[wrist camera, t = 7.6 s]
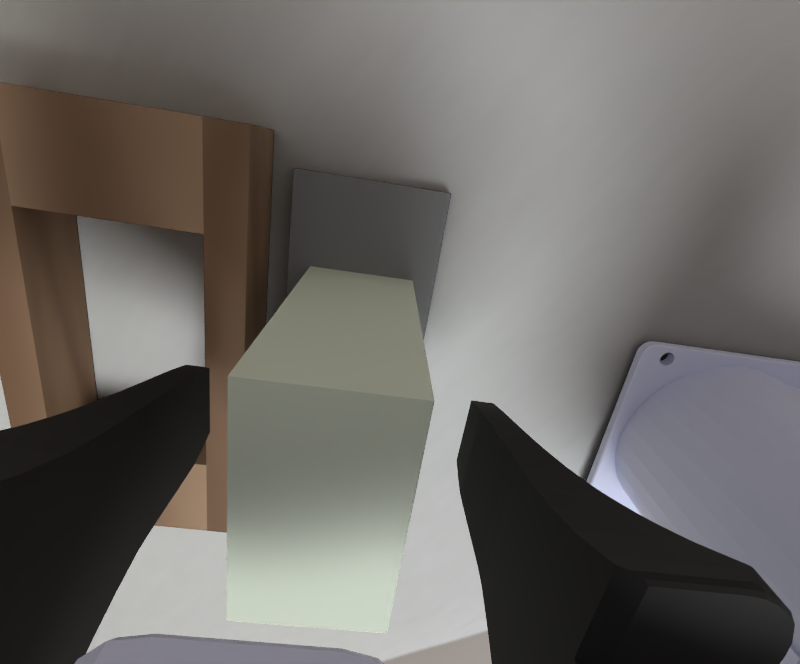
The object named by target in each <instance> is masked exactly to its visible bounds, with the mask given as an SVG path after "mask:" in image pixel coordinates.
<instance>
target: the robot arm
mask: <svg viewBox="0 0 800 664" xmlns="http://www.w3.org/2000/svg"><path fill="white" fill-rule="evenodd" d="M665 353H668V356H667V357H666V359H664V360H662V361H660V358H661V357H662V355H664V354H665ZM209 433H210V368H207V367H199V366H191V365H185V366H181V367H178V368H176V369H173V370H170V371H168V372H165V373H163V374H161V375H158V376H156V377H154V378H151V379H149V380H146V381H144V382H142V383H139V384H137V385H135V386H132V387H130V388H127V389H125V390H123V391H120V392H118V393H115V394H113V395H110V396H107V397H105V398H102V399H100V400H97V401H94V402H92V403H89V404H86V405H84V406H81V407H79V408H76V409H73V410H70V411H67V412H64V413H61V414H58V415H55V416H52V417H48V418H45V419H42V420H38V421H35V422H31V423H28V424H25V425H21V426H17V427H13V428H9V429H5V430H1V431H0V664H384V663H383V662H382V661H380V660H379V659H378V658H375V657H371V656H368V655H364V654H360V653H356V652H353V651H349V650H345V649H339V648H326V647H314V646H301V645H289V644H276V643H264V642H251V641H239V640H226V639H214V638H201V637H189V636H176V635H164V634H149V635H139V636H128V637H118V638H115V639H112V640H109V641H106V642H105V643H103V644H101V645H100V646H98V647H97V648H95V649H93V650H92V651H90V652H88V653H87V654H86V652H87V650H88V648H89V645H90V643H91V641H92V639H93V637H94V635H95V633H96V631H97V629H98V627H99V625H100V623H101V621H102V619H103V617H104V615H105V613H106V611H107V609H108V607H109V605H110V603H111V601H112V599H113V597H114V595H115V593H116V591H117V589H118V587H119V585H120V584H121V582H122V580H123V578H124V576H125V574H126V572H127V570H128V569H129V567H130V565H131V563H132V561H133V559H134V557H135V555H136V553H137V552H138V550H139V548H140V547H141V545H142V543H143V542H144V540H145V539H146V537H147V535H148V534H149V532H150V531H151V529H152V528H153V526H154V525H155V523H156V522H157V520H158V519H159V517H160V516H161V514H162V513H163V511H164V510H165V508H166V507H167V505H168V504H169V502H170V501H171V499H172V498H173V496H174V495H175V493H176V492H177V490H178V489H179V487H180V486H181V484H182V483H183V481H184V480H185V478H186V477H187V475H188V474H189V472H190V471H191V469H192V467H193V466H194V464H195V463H196V461H197V459H198V457H199V455H200V453H201V450H202V448H203V446H204V444H205V442H206V440H207V437H208V435H209ZM457 468H458V479H459V487H460V494H461V499H462V503H463V507H464V511H465V516H466V520H467V524H468V528H469V532H470V536H471V540H472V544H473V548H474V552H475V556H476V560H477V564H478V569H479V574H480V579H481V584H482V590H483V597H484V605H485V612H486V619H487V627H488V635H489V643H490V651H491V660H492V664H800V362H798V361H791V360H784V359H777V358H770V357H762V356H755V355H748V354H741V353H734V352H727V351H720V350H713V349H706V348H698V347H691V346H684V345H677V344H670V343H663V342H656V341H649V342H646V343H644V344H643V345H641V346H640V347H639V349H638V350H637V352H636V355H635V357H634V360H633V362H632V365H631V367H630V370H629V373H628V375H627V378H626V380H625V383H624V385H623V388H622V391H621V393H620V396H619V398H618V401H617V404H616V406H615V409H614V411H613V414H612V416H611V419H610V422H609V424H608V427H607V429H606V432H605V435H604V437H603V440H602V442H601V445H600V447H599V450H598V453H597V455H596V458H595V460H594V463H593V466H592V468H591V471H590V473H589V476H588V478H587V481H585V480H583V479H582V478H580V477H579V476H577V475H576V474H575V473H573V472H572V471H571V470H569V469H568V468H567V467H565V466H564V465H563V464H562V463H560V462H559V461H558V460H557V459H555V458H554V457H553V456H552V455H551V454H549V453H548V452H547V451H546V450H545V449H543V448H542V447H541V446H540V445H539V444H538V443H536V442H535V441H534V440H533V439H532V438H531V437H530V436H529V435H528V434H526V433H525V432H524V431H523V430H522V429H521V428H520V427H519V426H518V425H517V424H516V423H515V422H513V421H512V420H511V419H510V418H509V417H508V416H507V415H506V414H505V413H504V412H503V411H501V410H500V409H499V408H498V407H497V406H495V405H494V404H493V403H486V402H478V401H471V405H470V409H469V413H468V417H467V421H466V425H465V429H464V433H463V437H462V441H461V445H460V449H459V453H458V458H457Z"/></svg>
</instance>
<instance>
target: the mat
mask: <svg viewBox="0 0 800 664" xmlns="http://www.w3.org/2000/svg"><path fill="white" fill-rule="evenodd" d="M450 198H451V193H447V192H441V191H435V190H429V189H422V188H416V187H410V186H404V185H398V184H391V183H385V182H379V181H373V180H367V179H360V178H354V177H348V176H342V175H336V174H329V173H323V172H317V171H311V170H305V169H298V168H294V175H293V192H292V208H291V225H290V241H289V258H288V275H287V291H286V298H287V297H288V295H289V294H290V293H291V291H292V290H293V289H294V287H295V286H296V285H297V283H298V282H299V281H300V279H301V278H302V277H303V275H304V274H305V273H306V271H307V270H308V269H309V267H310V266H313V267H320V268H327V269H334V270H341V271H348V272H355V273H363V274H370V275H377V276H384V277H391V278H398V279H405V280H412V281H413V285H414V291H415V296H416V302H417V308H418V313H419V319H420V324H421V330H422V335H423V341H424V336H425V330H426V325H427V320H428V314H429V309H430V304H431V299H432V293H433V288H434V283H435V277H436V272H437V267H438V261H439V256H440V251H441V246H442V240H443V235H444V230H445V224H446V219H447V214H448V208H449V203H450Z"/></svg>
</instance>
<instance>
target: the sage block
mask: <svg viewBox="0 0 800 664" xmlns="http://www.w3.org/2000/svg"><path fill="white" fill-rule="evenodd" d="M433 405H434V396H433V391H432V385H431V380H430V374H429V369H428V363H427V357H426V352H425V346H424V341H423V335H422V330H421V324H420V319H419V313H418V308H417V302H416V296H415V291H414V285H413V281H412V280H405V279H398V278H391V277H384V276H377V275H370V274H363V273H355V272H348V271H341V270H334V269H327V268H320V267H313V266H310V267H309V269H308V270H307V271H306V273H305V274H304V275H303V277H302V278H301V279H300V281H299V282H298V283H297V285H296V286H295V287H294V289H293V290H292V291H291V293H290V294H289V295H288V297H287V298H286V299H285V300H284V302H283V303H282V304H281V306H280V307H279V308H278V310H277V311H276V312H275V314H274V315H273V316H272V318H271V319H270V320H269V322H268V323H267V324H266V326H265V327H264V328H263V330H262V331H261V332H260V334H259V335H258V336H257V338H256V339H255V340H254V342H253V343H252V344H251V346H250V347H249V348H248V350H247V351H246V352H245V354H244V355H243V356H242V358H241V359H240V360H239V362H238V363H237V364H236V366H235V367H234V368H233V370H232V371H231V372H230V374H229V375H228V405H227V621H236V622H249V623H261V624H273V625H286V626H298V627H311V628H323V629H336V630H348V631H361V632H373V633H385V634H387V630H388V625H389V620H390V615H391V610H392V605H393V600H394V596H395V591H396V586H397V581H398V576H399V571H400V566H401V561H402V557H403V552H404V547H405V542H406V537H407V532H408V527H409V522H410V517H411V513H412V508H413V503H414V498H415V493H416V488H417V483H418V478H419V474H420V469H421V464H422V459H423V454H424V449H425V444H426V439H427V434H428V430H429V425H430V420H431V415H432V410H433Z"/></svg>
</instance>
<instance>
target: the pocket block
mask: <svg viewBox="0 0 800 664" xmlns="http://www.w3.org/2000/svg"><path fill="white" fill-rule="evenodd" d="M273 148H274V130H271V129H267V128H263V127H259V126H255V125H251V124H246V123H240V122H234V121H228V120H222V119H216V118H210V117H204V116H198V115H192V114H186V113H181V112H175V111H169V110H163V109H157V108H151V107H145V106H139V105H133V104H127V103H121V102H115V101H109V100H103V99H97V98H91V97H85V96H79V95H73V94H67V93H61V92H55V91H49V90H43V89H37V88H31V87H25V86H19V85H13V84H7V83H1V82H0V376H1V381H2V385H3V390H4V395H5V400H6V405H7V410H8V415H9V419H10V424H11V428H13V427H17V426H21V425H25V424H28V423H31V422H35V421H38V420H42V419H45V418H48V417H52V416H55V415H58V414H61V413H64V412H67V411H70V410H73V409H76V408H79V407H81V406H84V405H86V404H89V403H92V402H94V401H97V393H96V384H95V375H94V367H93V358H92V350H91V341H90V333H89V324H88V315H87V307H86V298H85V290H84V281H83V272H82V264H81V255H80V247H79V238H78V230H77V221H76V215H78V216H84V217H91V218H98V219H105V220H111V221H118V222H125V223H132V224H139V225H145V226H152V227H159V228H166V229H172V230H179V231H186V232H193V233H199V234H204V310H205V367H207V368H210V433H209V435H208V437H207V440H206V442H205V444H204V446H203V448H202V450H201V453H200V455H199V457H198V459H197V461H196V463H195V464H194V466H193V467H192V469H191V471H190V472H189V474H188V475H187V477H186V478H185V480H184V481H183V483H182V484H181V486H180V487H179V489H178V490H177V492H176V493H175V495H174V496H173V498H172V499H171V501H170V502H169V504H168V505H167V507H166V508H165V510H164V511H163V513H162V514H161V516H160V517H159V519H158V520H157V522H156V523H155V526H166V527H176V528H186V529H196V530H206V531H217V532H227V405H228V375H229V374H230V372H231V371H232V370H233V368H234V367H235V366H236V364H237V363H238V362H239V360H240V359H241V358H242V356H243V355H244V354H245V352H246V351H247V350H248V348H249V347H250V346H251V344H252V343H253V342H254V340H255V339H256V338H257V336H258V335H259V334H260V332H261V331H262V330H263V328H264V327H265V326H266V310H267V287H268V264H269V241H270V217H271V194H272V171H273Z"/></svg>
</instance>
